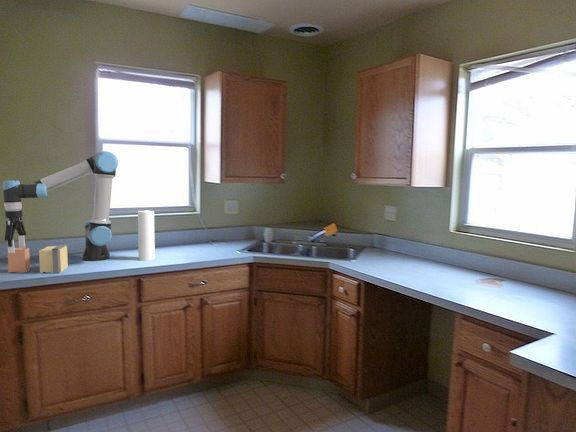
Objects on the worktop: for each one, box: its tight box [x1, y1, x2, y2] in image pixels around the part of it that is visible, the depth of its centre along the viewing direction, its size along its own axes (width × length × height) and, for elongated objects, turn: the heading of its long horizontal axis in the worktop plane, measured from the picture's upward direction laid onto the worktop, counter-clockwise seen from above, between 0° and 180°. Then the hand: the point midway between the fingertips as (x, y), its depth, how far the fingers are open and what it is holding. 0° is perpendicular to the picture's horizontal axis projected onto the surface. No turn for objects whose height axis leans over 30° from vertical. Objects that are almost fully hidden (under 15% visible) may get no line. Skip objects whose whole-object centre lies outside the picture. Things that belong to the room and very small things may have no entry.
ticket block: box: [38, 243, 69, 274], centre depth 222 cm, size 10×15×13 cm, turn 13°
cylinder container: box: [137, 209, 156, 262], centre depth 252 cm, size 9×9×30 cm
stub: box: [6, 247, 31, 273], centre depth 218 cm, size 8×6×12 cm
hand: (17, 250), depth 218 cm, fingers open, 13 cm apart
